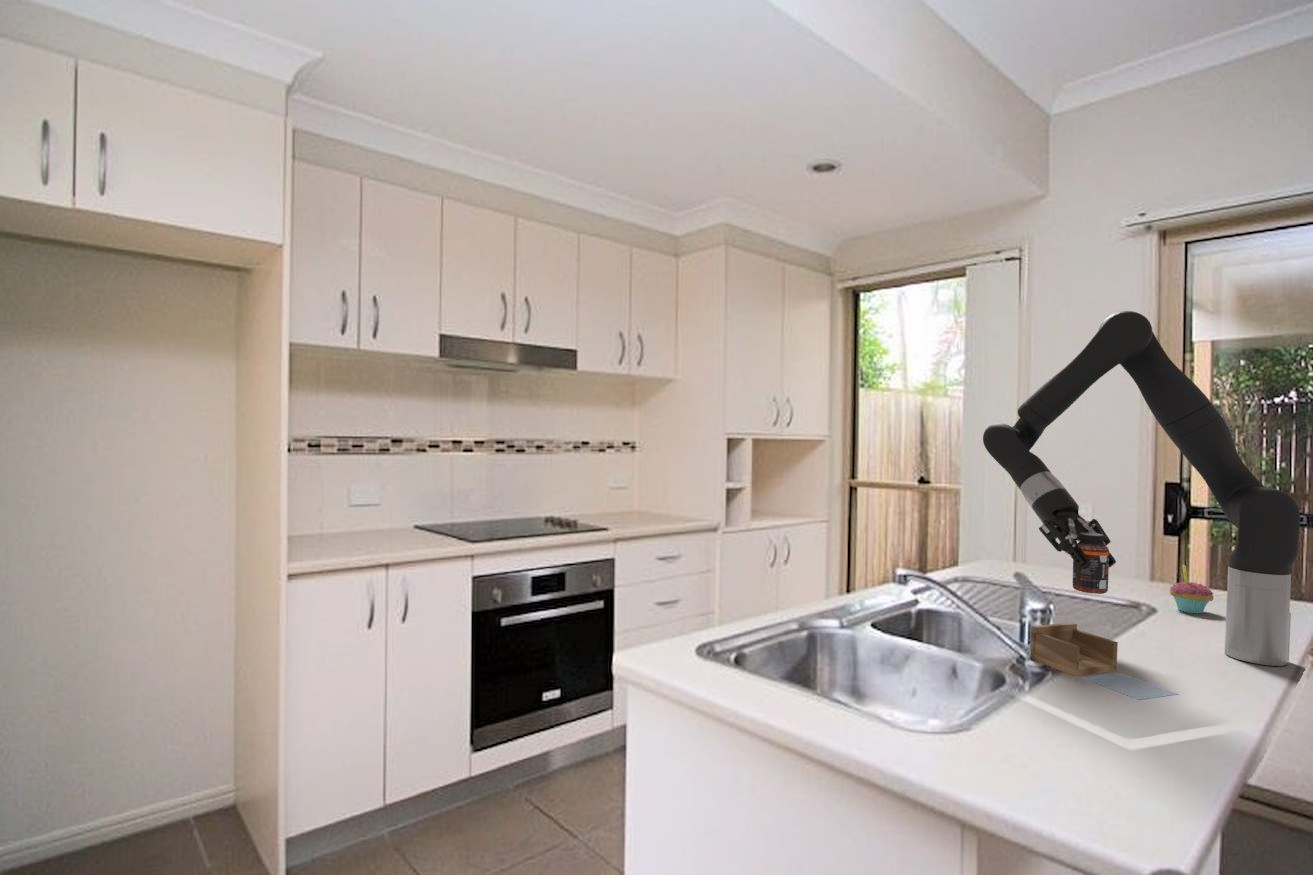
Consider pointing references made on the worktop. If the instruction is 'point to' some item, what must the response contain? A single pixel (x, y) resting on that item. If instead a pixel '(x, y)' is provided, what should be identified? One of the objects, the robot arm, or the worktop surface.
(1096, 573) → the supplement bottle
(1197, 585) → the cupcake
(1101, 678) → the plate
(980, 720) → the worktop surface
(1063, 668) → the tray
